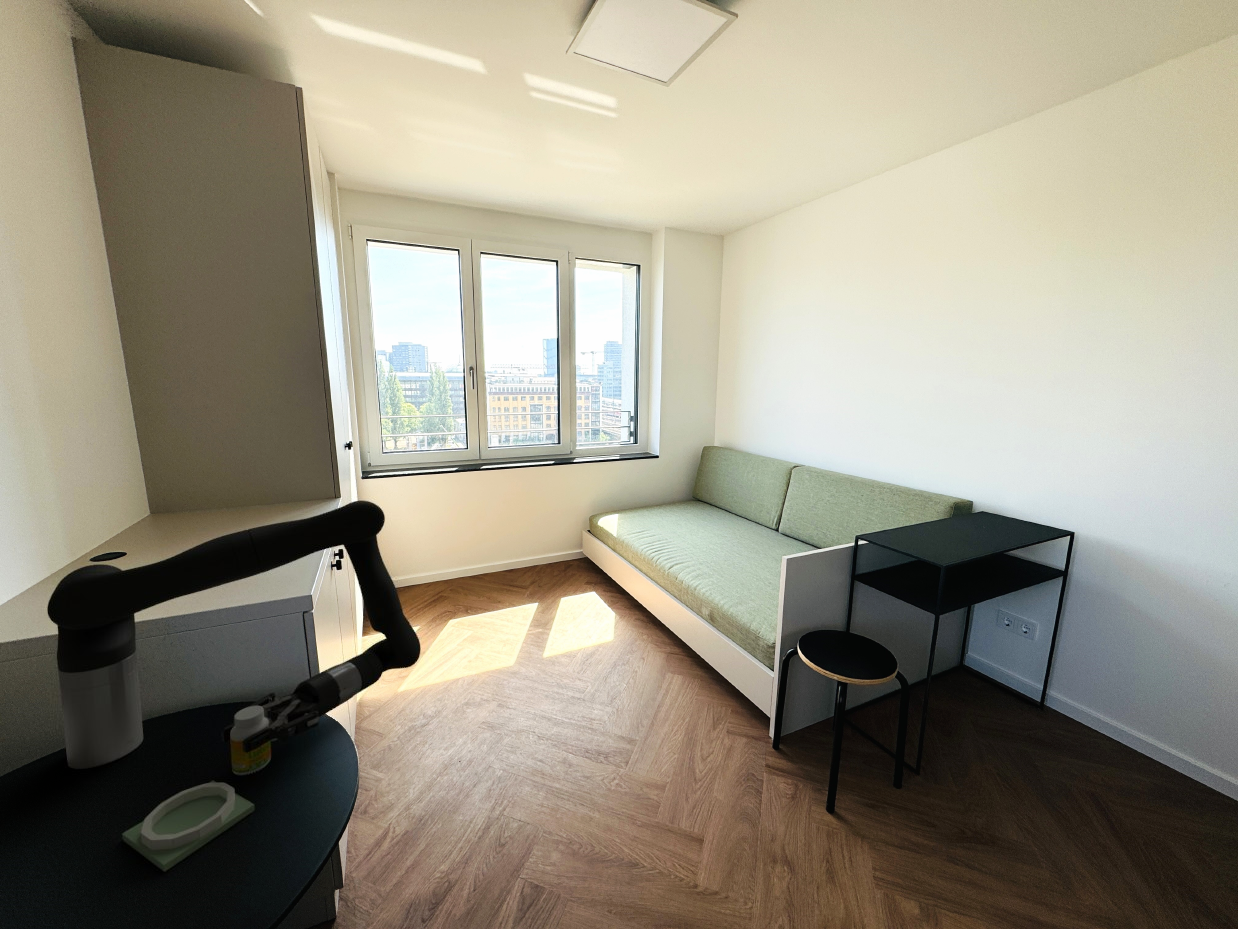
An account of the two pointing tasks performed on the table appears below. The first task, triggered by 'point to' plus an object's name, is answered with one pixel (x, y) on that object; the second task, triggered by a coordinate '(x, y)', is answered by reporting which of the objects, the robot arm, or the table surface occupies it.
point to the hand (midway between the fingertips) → (233, 741)
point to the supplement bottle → (245, 726)
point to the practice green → (187, 823)
